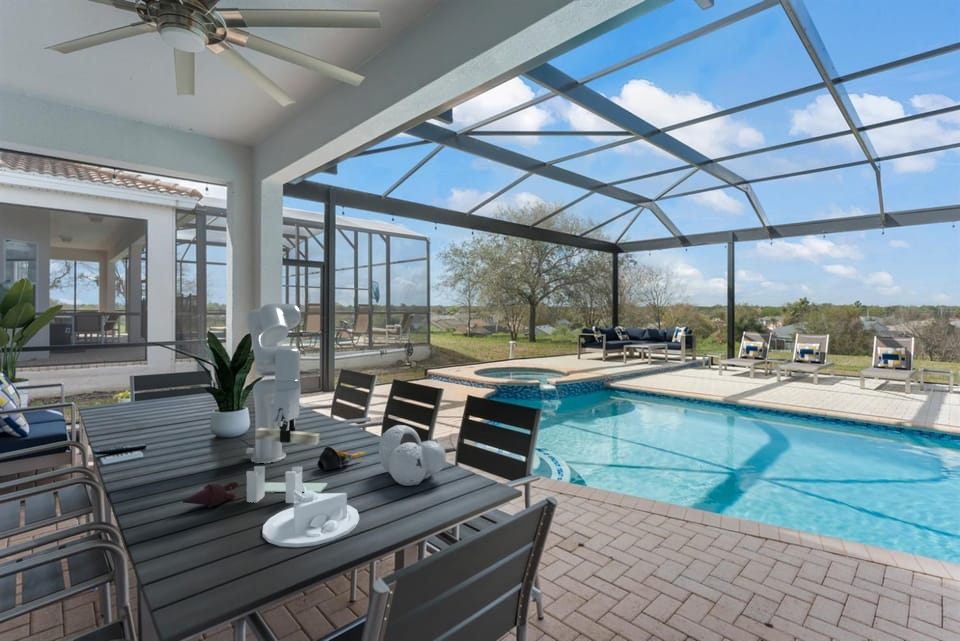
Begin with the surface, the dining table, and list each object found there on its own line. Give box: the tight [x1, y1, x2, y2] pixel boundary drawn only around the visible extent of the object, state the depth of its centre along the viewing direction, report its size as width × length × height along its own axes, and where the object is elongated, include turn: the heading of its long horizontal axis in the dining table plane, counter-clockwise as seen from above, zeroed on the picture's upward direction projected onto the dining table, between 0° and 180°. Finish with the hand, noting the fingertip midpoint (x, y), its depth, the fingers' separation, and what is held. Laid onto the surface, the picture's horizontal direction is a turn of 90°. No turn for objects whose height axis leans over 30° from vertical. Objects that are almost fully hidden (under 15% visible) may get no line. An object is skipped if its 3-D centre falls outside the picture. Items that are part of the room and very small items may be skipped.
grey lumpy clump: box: [378, 424, 447, 487], centre depth 161 cm, size 20×25×22 cm
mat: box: [245, 482, 328, 493], centre depth 151 cm, size 24×7×1 cm, turn 89°
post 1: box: [245, 465, 266, 504], centre depth 142 cm, size 3×5×10 cm, turn 179°
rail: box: [254, 428, 321, 446], centre depth 151 cm, size 20×3×3 cm, turn 89°
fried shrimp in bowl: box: [317, 446, 366, 472], centre depth 173 cm, size 9×11×18 cm
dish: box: [262, 480, 360, 548], centre depth 126 cm, size 25×25×11 cm
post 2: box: [284, 465, 303, 504], centre depth 142 cm, size 3×5×10 cm, turn 179°
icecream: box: [182, 481, 239, 509], centre depth 137 cm, size 7×7×15 cm
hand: (287, 440), depth 151 cm, fingers closed on rail, 3 cm apart
